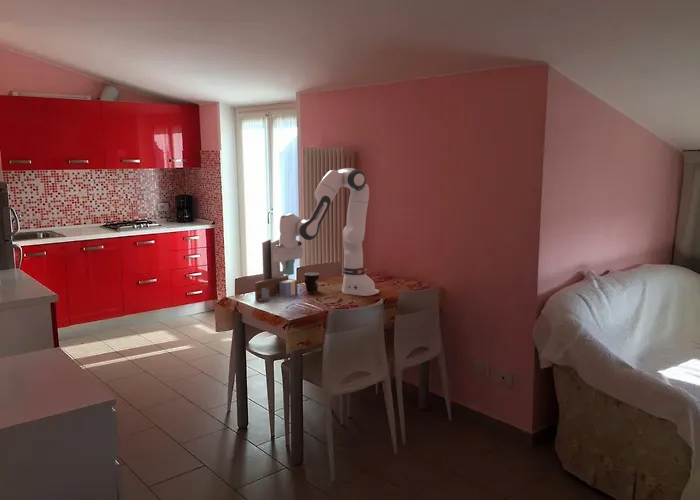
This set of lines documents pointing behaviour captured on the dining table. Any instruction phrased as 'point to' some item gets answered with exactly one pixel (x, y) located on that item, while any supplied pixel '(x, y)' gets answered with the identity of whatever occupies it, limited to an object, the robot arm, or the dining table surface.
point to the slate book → (284, 288)
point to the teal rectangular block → (289, 267)
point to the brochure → (270, 260)
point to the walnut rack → (271, 286)
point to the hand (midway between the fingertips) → (288, 268)
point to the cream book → (292, 287)
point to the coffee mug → (311, 281)
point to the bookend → (264, 296)
